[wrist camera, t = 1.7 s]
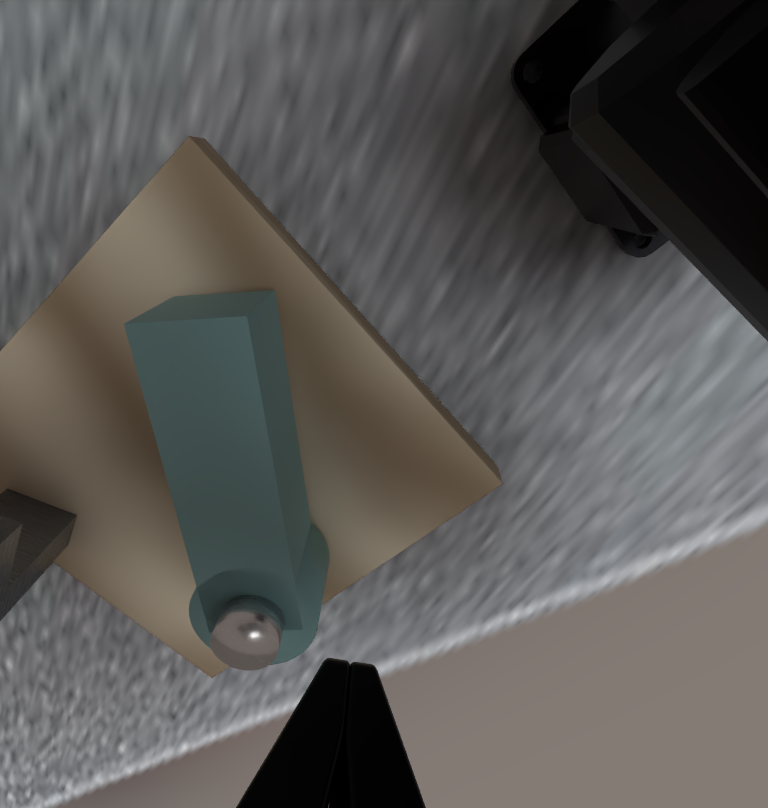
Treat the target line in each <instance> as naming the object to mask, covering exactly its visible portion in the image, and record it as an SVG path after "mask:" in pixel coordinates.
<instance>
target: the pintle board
mask: <svg viewBox="0 0 768 808" xmlns="http://www.w3.org/2000/svg"><path fill="white" fill-rule="evenodd" d="M266 290H275V293H276V299H277V306H278V312H279V319H280V325H281V332H282V338H283V345H284V351H285V358H286V364H287V371H288V377H289V384H290V390H291V397H292V403H293V410H294V416H295V423H296V429H297V436H298V442H299V449H300V455H301V462H302V468H303V475H304V481H305V488H306V494H307V501H308V507H309V514H310V520H311V524H312V525H314V526H315V527H316V528H317V529H318V530H319V532H320V533H321V534H322V536H323V537H324V539H325V541H326V543H327V546H328V549H329V556H330V560H329V567H328V573H327V578H326V583H325V589H324V594H323V600H322V604H324V603H325V602H327V601H328V600H330V599H331V598H333V597H334V596H336V595H337V594H339V593H340V592H342V591H343V590H345V589H346V588H348V587H349V586H351V585H352V584H354V583H355V582H357V581H358V580H360V579H361V578H363V577H364V576H365V575H367V574H368V573H370V572H371V571H373V570H374V569H376V568H377V567H379V566H380V565H382V564H383V563H385V562H386V561H388V560H389V559H391V558H392V557H394V556H395V555H397V554H398V553H400V552H401V551H403V550H404V549H406V548H407V547H409V546H410V545H412V544H413V543H415V542H416V541H418V540H419V539H421V538H422V537H424V536H425V535H427V534H428V533H430V532H431V531H433V530H434V529H436V528H437V527H439V526H440V525H442V524H443V523H445V522H446V521H448V520H449V519H451V518H452V517H454V516H455V515H457V514H458V513H460V512H461V511H463V510H464V509H466V508H467V507H469V506H470V505H472V504H473V503H475V502H476V501H478V500H479V499H481V498H482V497H484V496H485V495H487V494H488V493H490V492H491V491H493V490H494V489H496V488H497V487H499V486H500V485H502V484H503V482H502V479H501V476H500V473H499V470H498V467H497V465H496V464H495V463H494V462H493V461H492V459H491V458H490V457H489V456H488V455H487V454H486V453H485V452H484V450H483V449H482V448H481V447H480V446H479V445H478V444H477V443H476V442H475V440H474V439H473V438H472V437H471V436H470V435H469V434H468V433H467V431H466V430H465V429H464V428H463V427H462V426H461V425H460V424H459V423H458V421H457V420H456V419H455V418H454V417H453V416H452V415H451V414H450V412H449V411H448V410H447V409H446V408H445V407H444V406H443V405H442V404H441V402H440V401H439V400H438V399H437V398H436V397H435V396H434V395H433V393H432V392H431V391H430V390H429V389H428V388H427V387H426V386H425V385H424V383H423V382H422V381H421V380H420V379H419V378H418V377H417V376H416V374H415V373H414V372H413V371H412V370H411V369H410V368H409V367H408V366H407V364H406V363H405V362H404V361H403V360H402V359H401V358H400V357H399V355H398V354H397V353H396V352H395V351H394V350H393V349H392V348H391V347H390V345H389V344H388V343H387V342H386V341H385V340H384V339H383V338H382V336H381V335H380V334H379V333H378V332H377V331H376V330H375V329H374V328H373V326H372V325H371V324H370V323H369V322H368V321H367V320H366V319H365V317H364V316H363V315H362V314H361V313H360V312H359V311H358V310H357V309H356V307H355V306H354V305H353V304H352V303H351V302H350V301H349V300H348V298H347V297H346V296H345V295H344V294H343V293H342V292H341V291H340V290H339V288H338V287H337V286H336V285H335V284H334V283H333V282H332V281H331V279H330V278H329V277H328V276H327V275H326V274H325V273H324V272H323V271H322V269H321V268H320V267H319V266H318V265H317V264H316V263H315V262H314V260H313V259H312V258H311V257H310V256H309V255H308V254H307V253H306V252H305V250H304V249H303V248H302V247H301V246H300V245H299V244H298V243H297V241H296V240H295V239H294V238H293V237H292V236H291V235H290V234H289V233H288V231H287V230H286V229H285V228H284V227H283V226H282V225H281V224H280V222H279V221H278V220H277V219H276V218H275V217H274V216H273V215H272V214H271V212H270V211H269V210H268V209H267V208H266V207H265V206H264V205H263V203H262V202H261V201H260V200H259V199H258V198H257V197H256V196H255V195H254V193H253V192H252V191H251V190H250V189H249V188H248V187H247V186H246V184H245V183H244V182H243V181H242V180H241V179H240V178H239V177H238V176H237V174H236V173H235V172H234V171H233V170H232V169H231V168H230V167H229V165H228V164H227V163H226V162H225V161H224V160H223V159H222V158H221V157H220V155H219V154H218V153H217V152H216V151H215V150H214V149H213V148H212V146H211V145H210V144H209V143H208V142H207V141H206V140H205V139H203V138H197V137H191V136H189V137H188V138H187V139H186V140H185V141H184V143H183V144H182V145H181V146H180V147H179V148H178V149H177V151H176V152H175V153H174V154H173V155H172V156H171V157H170V159H169V160H168V161H167V162H166V163H165V164H164V165H163V166H162V168H161V169H160V170H159V171H158V172H157V173H156V174H155V176H154V177H153V178H152V179H151V180H150V181H149V182H148V184H147V185H146V186H145V187H144V188H143V189H142V190H141V192H140V193H139V194H138V195H137V196H136V197H135V198H134V200H133V201H132V202H131V203H130V204H129V205H128V206H127V208H126V209H125V210H124V211H123V212H122V213H121V214H120V215H119V217H118V218H117V219H116V220H115V221H114V222H113V223H112V225H111V226H110V227H109V228H108V229H107V230H106V231H105V233H104V234H103V235H102V236H101V237H100V238H99V239H98V241H97V242H96V243H95V244H94V245H93V246H92V247H91V249H90V250H89V251H88V252H87V253H86V254H85V255H84V256H83V258H82V259H81V260H80V261H79V262H78V263H77V264H76V266H75V267H74V268H73V269H72V270H71V271H70V272H69V274H68V275H67V276H66V277H65V278H64V279H63V280H62V282H61V283H60V284H59V285H58V286H57V287H56V288H55V290H54V291H53V292H52V293H51V294H50V295H49V296H48V298H47V299H46V300H45V301H44V302H43V303H42V304H41V305H40V307H39V308H38V309H37V310H36V311H35V312H34V313H33V315H32V316H31V317H30V318H29V319H28V320H27V321H26V323H25V324H24V325H23V326H22V327H21V328H20V329H19V331H18V332H17V333H16V334H15V335H14V336H13V337H12V339H11V340H10V341H9V342H8V343H7V344H6V345H5V347H4V348H3V349H2V350H1V351H0V621H1V620H2V619H3V617H4V616H5V615H6V614H7V613H8V612H9V611H10V610H11V609H12V607H13V606H14V605H15V604H16V603H17V602H18V601H19V600H20V598H21V597H22V596H23V595H24V594H25V593H26V592H27V591H28V590H29V588H30V587H31V586H32V585H33V584H34V583H35V582H36V581H37V579H38V578H39V577H40V576H41V575H42V574H43V573H44V572H45V570H46V569H47V568H48V567H49V566H50V565H51V564H52V563H53V562H54V563H55V564H57V565H58V566H59V567H61V568H62V569H64V570H65V571H66V572H68V573H69V574H70V575H72V576H73V577H74V578H76V579H77V580H79V581H80V582H81V583H83V584H84V585H85V586H87V587H88V588H90V589H91V590H92V591H94V592H95V593H96V594H98V595H99V596H100V597H102V598H103V599H105V600H106V601H107V602H109V603H110V604H111V605H113V606H114V607H116V608H117V609H118V610H120V611H121V612H122V613H124V614H125V615H126V616H128V617H129V618H131V619H132V620H133V621H135V622H136V623H137V624H139V625H140V626H142V627H143V628H144V629H146V630H147V631H148V632H150V633H151V634H152V635H154V636H155V637H157V638H158V639H159V640H161V641H162V642H163V643H165V644H166V645H167V646H169V647H170V648H172V649H173V650H174V651H176V652H177V653H178V654H180V655H181V656H183V657H184V658H185V659H187V660H188V661H189V662H191V663H192V664H193V665H195V666H196V667H198V668H199V669H200V670H202V671H203V672H204V673H206V674H207V675H209V676H210V677H211V678H213V677H214V676H216V675H217V674H219V673H220V672H222V671H223V670H225V669H226V668H228V667H229V666H228V665H227V664H225V663H223V662H222V661H221V660H219V659H218V658H217V657H216V655H215V654H214V653H213V651H212V649H210V648H209V647H208V646H207V645H205V644H204V642H203V641H202V640H201V639H200V638H199V637H198V635H197V634H196V633H195V631H194V629H193V627H192V625H191V622H190V618H189V603H190V600H191V597H192V595H193V593H194V591H195V589H196V583H195V580H194V576H193V572H192V569H191V565H190V562H189V558H188V554H187V551H186V547H185V543H184V540H183V536H182V533H181V529H180V525H179V522H178V518H177V515H176V511H175V507H174V504H173V500H172V497H171V493H170V489H169V486H168V482H167V478H166V475H165V471H164V468H163V464H162V460H161V457H160V453H159V450H158V446H157V442H156V439H155V435H154V431H153V428H152V424H151V421H150V417H149V413H148V410H147V406H146V403H145V399H144V395H143V392H142V388H141V384H140V381H139V377H138V374H137V370H136V366H135V363H134V359H133V356H132V352H131V348H130V345H129V341H128V338H127V334H126V330H125V327H124V323H126V322H128V321H130V320H131V319H133V318H135V317H137V316H139V315H141V314H142V313H144V312H146V311H148V310H150V309H152V308H153V307H155V306H157V305H159V304H161V303H163V302H164V301H166V300H168V299H170V298H172V297H174V296H189V295H204V294H219V293H235V292H250V291H266Z"/></svg>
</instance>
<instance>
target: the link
mask: <svg viewBox="0 0 768 808" xmlns="http://www.w3.org/2000/svg"><path fill="white" fill-rule="evenodd" d="M124 327H125V330H126V334H127V338H128V341H129V345H130V348H131V352H132V356H133V359H134V363H135V366H136V370H137V374H138V377H139V381H140V384H141V388H142V392H143V395H144V399H145V403H146V406H147V410H148V413H149V417H150V421H151V424H152V428H153V431H154V435H155V439H156V442H157V446H158V450H159V453H160V457H161V460H162V464H163V468H164V471H165V475H166V478H167V482H168V486H169V489H170V493H171V497H172V500H173V504H174V507H175V511H176V515H177V518H178V522H179V525H180V529H181V533H182V536H183V540H184V543H185V547H186V551H187V554H188V558H189V562H190V565H191V569H192V572H193V576H194V580H195V583H196V589H195V591H194V593H193V595H192V597H191V600H190V603H189V618H190V622H191V625H192V627H193V629H194V631H195V633H196V634H197V635H198V637H199V638H200V639H201V640H202V641H203V642H204V644H205V645H207V646H208V647H209V648H210V649H212V651H213V653H214V654H215V655H216V657H217V658H218V659H219V660H221V661H222V662H223V663H225V664H227V665H228V666H231V667H233V668H237V669H241V670H257V669H261V668H264V667H266V666H268V665H273V664H279V663H282V662H286V661H288V660H291V659H293V658H295V657H297V656H298V655H300V654H301V653H303V652H304V651H305V650H306V649H307V648H308V647H309V646H310V644H311V643H312V641H313V639H314V637H315V635H316V631H317V626H318V621H319V616H320V610H321V605H322V600H323V594H324V589H325V583H326V578H327V573H328V567H329V560H330V556H329V549H328V546H327V543H326V541H325V539H324V537H323V536H322V534H321V533H320V532H319V530H318V529H317V528H316V527H315V526H314V525H312V524H311V520H310V514H309V507H308V501H307V494H306V488H305V481H304V475H303V468H302V462H301V455H300V449H299V442H298V436H297V429H296V423H295V416H294V410H293V403H292V397H291V390H290V384H289V377H288V371H287V364H286V358H285V351H284V345H283V338H282V332H281V325H280V319H279V312H278V306H277V299H276V293H275V290H266V291H250V292H235V293H219V294H204V295H189V296H174V297H172V298H170V299H168V300H166V301H164V302H163V303H161V304H159V305H157V306H155V307H153V308H152V309H150V310H148V311H146V312H144V313H142V314H141V315H139V316H137V317H135V318H133V319H131V320H130V321H128V322H126V323H124Z"/></svg>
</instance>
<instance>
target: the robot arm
mask: <svg viewBox="0 0 768 808" xmlns="http://www.w3.org/2000/svg"><path fill="white" fill-rule="evenodd" d="M527 63H534V64H535V65H536V66H538V69H539V77H538V79H537V81H536V82H535V83H528V82H527V81H526V80H525V79H524V76H523V69H524V66H525V65H526V64H527ZM511 83H512V85H513V88H514V90H515V91H516V92H517V94H518V95H519V97H520V98H521V100H522V101H523V103H524V104H525V106H526V107H527V109H528V110H529V112H530V113H531V115H532V116H533V118H534V119H535V121H536V122H537V124H538V125H539V127H540V128H541V130H542V131H543V133H544V134H543V135H542V136H541V137H540V142H539V148H538V150H539V152H540V153H541V155H542V156H543V158H544V159H545V161H546V162H547V164H548V165H549V167H550V168H551V170H552V171H553V172H554V174H555V175H556V177H557V178H558V180H559V181H560V183H561V184H562V186H563V187H564V189H565V190H566V191H567V193H568V194H569V196H570V197H571V199H572V200H573V202H574V203H575V205H576V206H577V208H578V209H579V210H580V212H581V213H582V215H583V216H584V218H585V219H586V220H587V221H590V222H594V223H597V224H601V225H605V226H607V228H608V229H609V231H610V232H611V234H612V235H613V237H614V238H615V240H616V241H617V243H618V244H619V246H620V247H621V249H622V250H623V251H624V252H625V253H626V254H629V255H632V256H635V257H645V256H647V255H649V254H651V253H653V252H654V251H655V250H657V249H658V248H659V247H661V246H662V245H663V244H665V243H666V242H667V241H669V240H670V241H671V242H672V243H673V244H674V245H675V247H676V248H677V249H678V250H679V251H680V252H681V253H682V254H683V255H684V256H685V257H686V258H687V259H688V260H689V261H690V262H691V263H692V264H693V265H694V266H695V267H696V268H697V269H698V270H699V271H700V272H701V273H702V274H703V275H704V276H705V277H706V278H707V279H708V280H709V281H710V283H711V284H712V285H713V286H714V287H715V288H716V289H717V290H718V291H719V292H720V293H721V294H722V295H723V296H724V297H725V298H726V299H727V300H728V301H729V302H730V303H731V304H732V305H733V306H734V307H735V308H736V309H737V310H738V311H739V312H740V313H741V314H742V315H743V316H744V317H745V319H746V320H747V321H748V322H749V323H750V324H751V325H752V326H753V327H754V328H755V329H756V330H757V331H758V332H759V333H760V334H761V335H762V336H763V337H764V338H765V339H766V340H767V341H768V0H579V1H578V2H577V3H575V4H574V5H573V6H572V7H571V8H570V9H569V10H568V11H567V12H566V13H565V14H564V15H563V16H562V17H561V18H560V19H558V20H557V21H556V22H555V23H554V24H553V25H552V26H551V27H550V28H549V29H548V30H547V31H546V32H545V33H544V34H543V35H542V36H540V37H539V38H538V39H537V40H536V41H535V42H534V43H533V44H532V45H531V46H530V47H529V48H528V49H527V50H526V51H525V52H524V53H522V54H521V55H520V56H519V57H518V59H517V60H516V61H515V63H514V64H513V67H512V70H511ZM636 234H639V235H646V239H645V242H644V243H643V244H642V245H641V246H638V247H636V246H635V245H634V242H633V241H634V237H635V236H636ZM328 805H329V808H426V807H425V804H424V802H423V798H422V796H421V793H420V790H419V787H418V784H417V782H416V779H415V776H414V773H413V770H412V767H411V765H410V762H409V759H408V756H407V753H406V750H405V748H404V745H403V742H402V739H401V737H400V733H399V731H398V728H397V725H396V722H395V719H394V717H393V714H392V711H391V708H390V705H389V702H388V699H387V697H386V694H385V691H384V688H383V685H382V682H381V680H380V677H379V674H378V671H377V669H376V667H375V666H374V665H372V664H366V663H359V662H353V663H351V665H350V664H349V662H348V661H346V660H340V659H333V658H327V659H326V660H325V661H324V662H323V663H322V665H321V667H320V668H319V670H318V672H317V673H316V675H315V677H314V678H313V680H312V682H311V683H310V685H309V687H308V688H307V690H306V692H305V694H304V695H303V697H302V699H301V700H300V702H299V704H298V705H297V707H296V709H295V710H294V712H293V714H292V715H291V717H290V719H289V720H288V722H287V724H286V725H285V727H284V729H283V731H282V732H281V734H280V735H279V737H278V739H277V741H276V742H275V744H274V745H273V747H272V749H271V750H270V752H269V754H268V756H267V757H266V759H265V760H264V762H263V764H262V765H261V767H260V769H259V770H258V772H257V774H256V776H255V777H254V779H253V781H252V782H251V784H250V786H249V787H248V789H247V790H246V792H245V794H244V795H243V797H242V799H241V801H240V802H239V804H238V806H237V807H236V808H328Z"/></svg>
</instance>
